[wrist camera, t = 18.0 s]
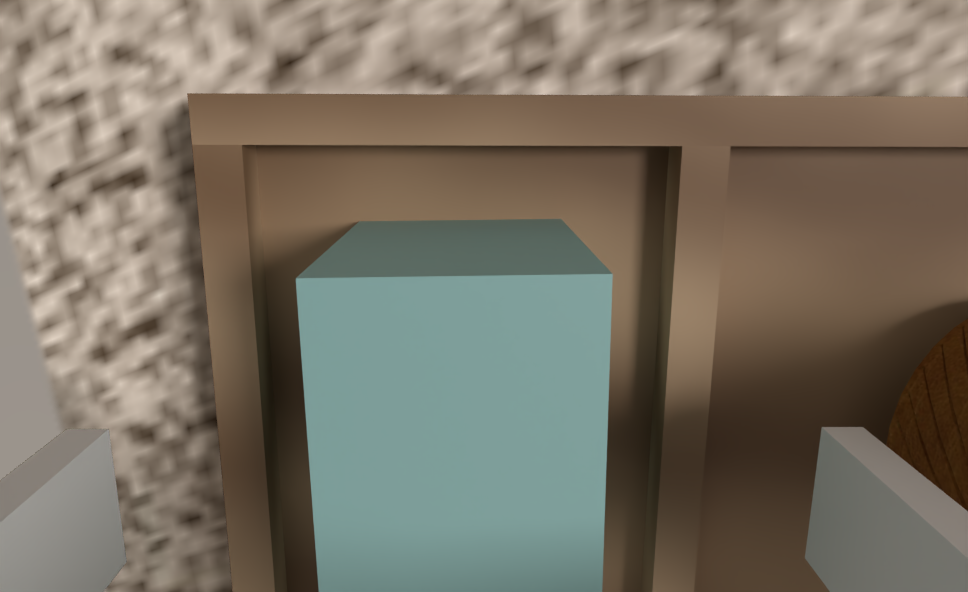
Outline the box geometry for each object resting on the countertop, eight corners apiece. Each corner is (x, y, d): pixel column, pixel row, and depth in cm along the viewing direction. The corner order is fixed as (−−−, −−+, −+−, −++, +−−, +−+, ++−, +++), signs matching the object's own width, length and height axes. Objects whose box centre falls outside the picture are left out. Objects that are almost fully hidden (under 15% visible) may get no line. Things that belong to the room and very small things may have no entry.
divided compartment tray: (228, 98, 17) (187, 93, 14) (1297, 101, 17) (1433, 98, 15) (271, 647, 20) (244, 719, 18) (1156, 638, 21) (1248, 707, 18)
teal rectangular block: (359, 221, 16) (296, 278, 10) (560, 218, 16) (613, 274, 10) (379, 611, 18) (337, 838, 13) (554, 607, 18) (594, 831, 13)
